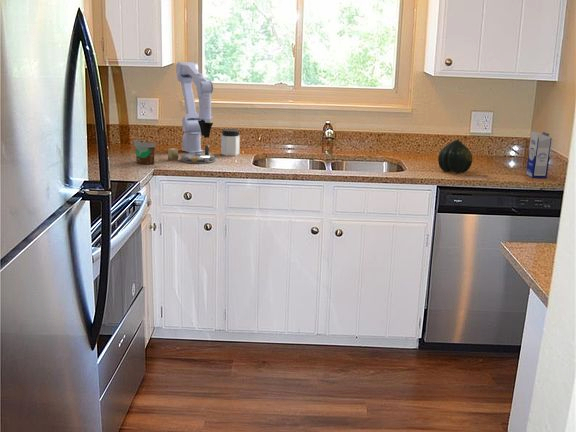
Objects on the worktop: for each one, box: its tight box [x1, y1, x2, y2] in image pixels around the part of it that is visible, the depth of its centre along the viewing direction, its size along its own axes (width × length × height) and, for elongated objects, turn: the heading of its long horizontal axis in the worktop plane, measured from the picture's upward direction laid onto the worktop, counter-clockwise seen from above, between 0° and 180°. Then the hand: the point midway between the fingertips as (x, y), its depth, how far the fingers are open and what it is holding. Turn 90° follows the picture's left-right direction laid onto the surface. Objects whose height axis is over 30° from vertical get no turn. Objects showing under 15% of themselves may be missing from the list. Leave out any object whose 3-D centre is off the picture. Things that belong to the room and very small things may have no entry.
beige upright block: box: [167, 147, 179, 162], centre depth 304 cm, size 3×3×5 cm
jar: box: [220, 128, 241, 157], centre depth 320 cm, size 9×8×12 cm
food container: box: [133, 138, 157, 166], centre depth 292 cm, size 12×6×10 cm, turn 47°
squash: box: [437, 139, 473, 175], centre depth 297 cm, size 14×15×15 cm
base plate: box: [180, 157, 216, 165], centre depth 304 cm, size 16×16×1 cm
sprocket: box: [180, 144, 216, 162], centre depth 304 cm, size 15×15×6 cm
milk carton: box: [525, 130, 553, 179], centre depth 291 cm, size 7×7×20 cm
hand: (205, 136), depth 310 cm, fingers open, 7 cm apart
